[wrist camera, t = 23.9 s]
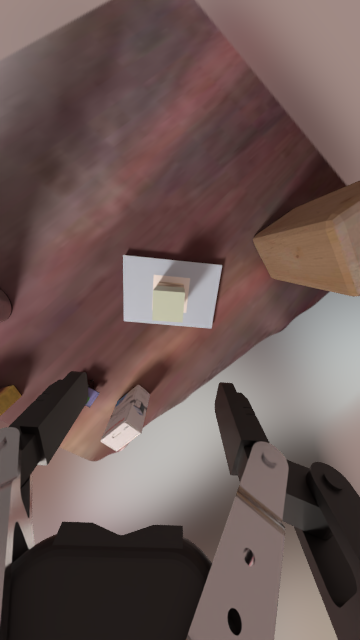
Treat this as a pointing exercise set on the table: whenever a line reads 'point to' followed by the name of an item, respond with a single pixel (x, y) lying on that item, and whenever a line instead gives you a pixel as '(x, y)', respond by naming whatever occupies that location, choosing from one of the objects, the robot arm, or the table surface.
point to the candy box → (8, 397)
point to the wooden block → (317, 243)
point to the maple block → (170, 284)
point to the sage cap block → (168, 303)
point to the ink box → (126, 419)
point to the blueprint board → (194, 276)
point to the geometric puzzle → (91, 396)
